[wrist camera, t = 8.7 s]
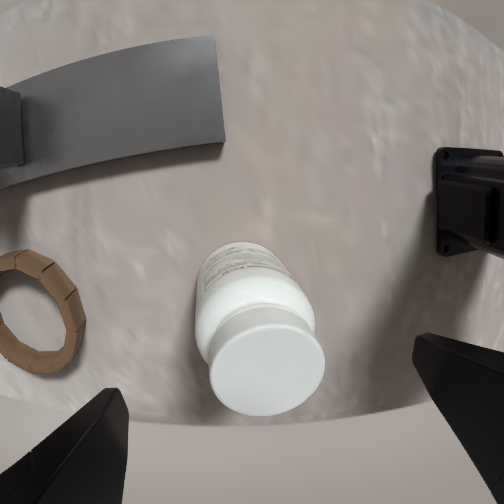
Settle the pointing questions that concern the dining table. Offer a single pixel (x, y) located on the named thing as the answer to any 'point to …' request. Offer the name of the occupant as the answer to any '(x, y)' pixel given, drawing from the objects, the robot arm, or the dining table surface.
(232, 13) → the dining table surface
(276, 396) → the pill bottle
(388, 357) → the dining table surface
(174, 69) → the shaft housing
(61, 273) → the bottle collar
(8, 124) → the grey long bar
